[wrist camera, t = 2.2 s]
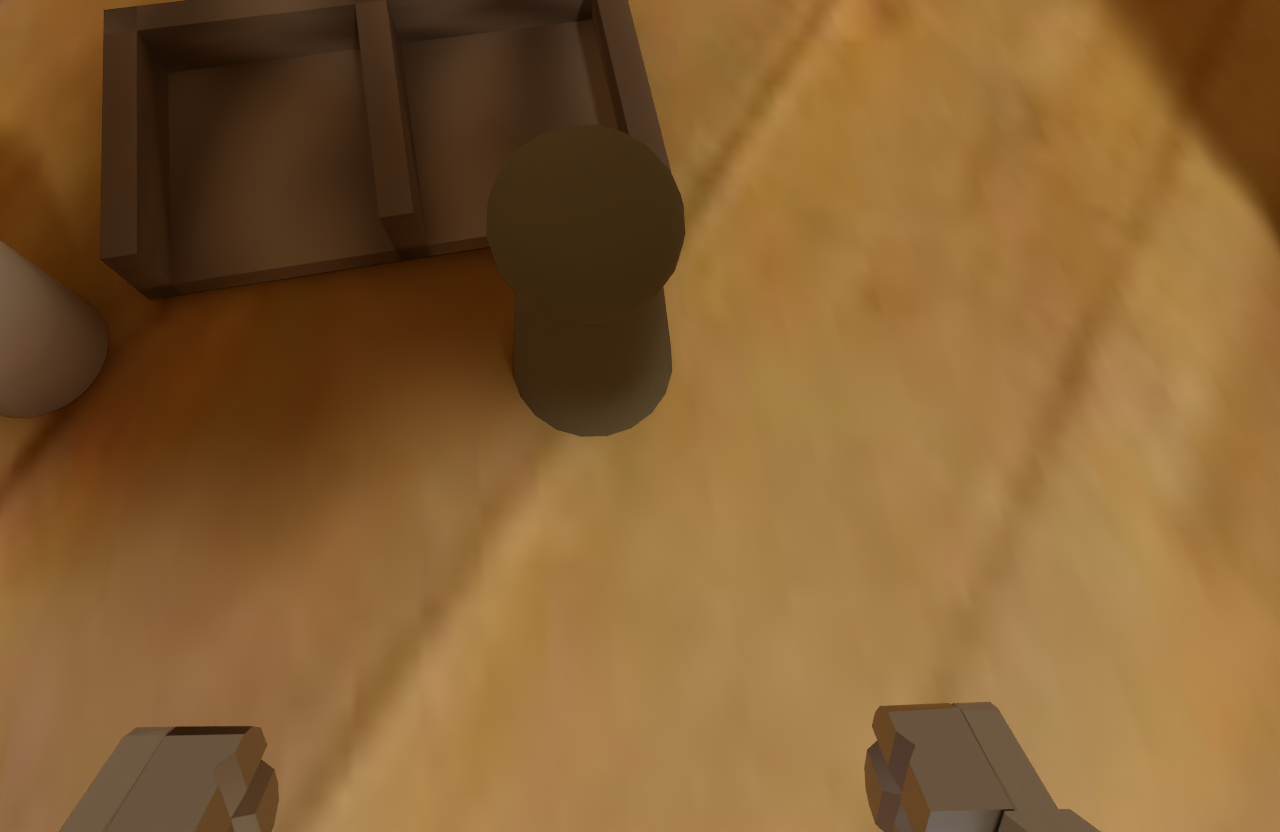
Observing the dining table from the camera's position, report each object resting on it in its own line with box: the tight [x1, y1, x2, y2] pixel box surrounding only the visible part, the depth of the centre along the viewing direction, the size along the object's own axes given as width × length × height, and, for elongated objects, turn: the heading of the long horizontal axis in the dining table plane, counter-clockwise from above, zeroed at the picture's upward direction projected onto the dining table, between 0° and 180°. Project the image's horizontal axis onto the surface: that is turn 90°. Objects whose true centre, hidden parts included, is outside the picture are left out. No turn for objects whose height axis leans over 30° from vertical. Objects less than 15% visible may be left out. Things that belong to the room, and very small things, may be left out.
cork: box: [486, 125, 685, 436], centre depth 24 cm, size 6×6×11 cm
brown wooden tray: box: [100, 0, 671, 299], centre depth 30 cm, size 20×11×3 cm, turn 101°
